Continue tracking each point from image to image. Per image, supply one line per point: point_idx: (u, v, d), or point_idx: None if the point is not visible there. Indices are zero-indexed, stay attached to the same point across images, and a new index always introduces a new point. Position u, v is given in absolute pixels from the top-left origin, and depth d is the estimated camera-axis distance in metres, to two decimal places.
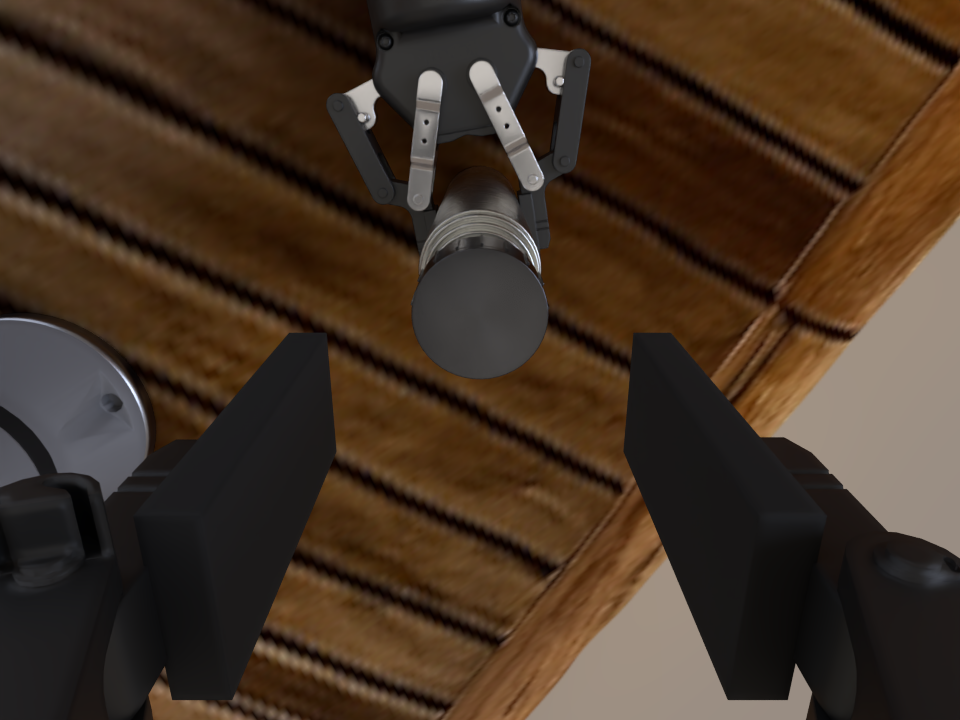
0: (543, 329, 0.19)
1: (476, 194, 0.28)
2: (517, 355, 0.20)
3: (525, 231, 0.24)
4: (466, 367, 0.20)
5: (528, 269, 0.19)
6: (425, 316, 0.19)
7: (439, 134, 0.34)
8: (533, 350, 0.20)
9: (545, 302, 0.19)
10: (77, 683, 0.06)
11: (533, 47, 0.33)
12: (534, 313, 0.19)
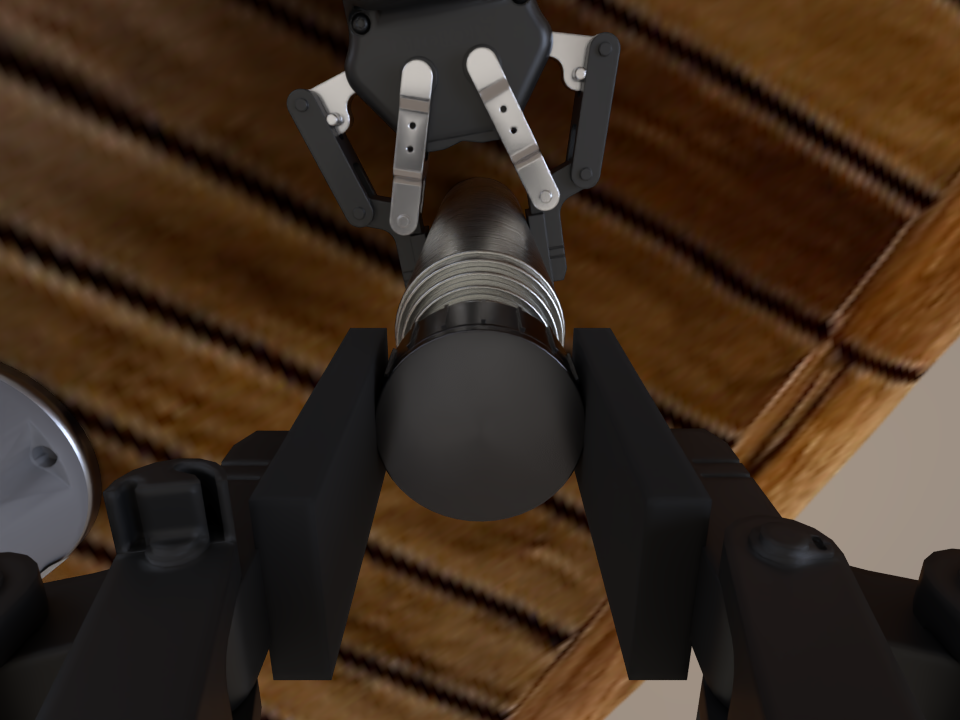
0: (578, 450, 0.12)
1: (475, 222, 0.21)
2: (537, 488, 0.13)
3: (543, 280, 0.17)
4: (459, 505, 0.13)
5: (556, 362, 0.12)
6: (395, 431, 0.12)
7: (429, 140, 0.28)
8: (562, 480, 0.13)
9: (582, 411, 0.12)
10: (206, 665, 0.06)
11: (547, 31, 0.26)
12: (565, 427, 0.12)
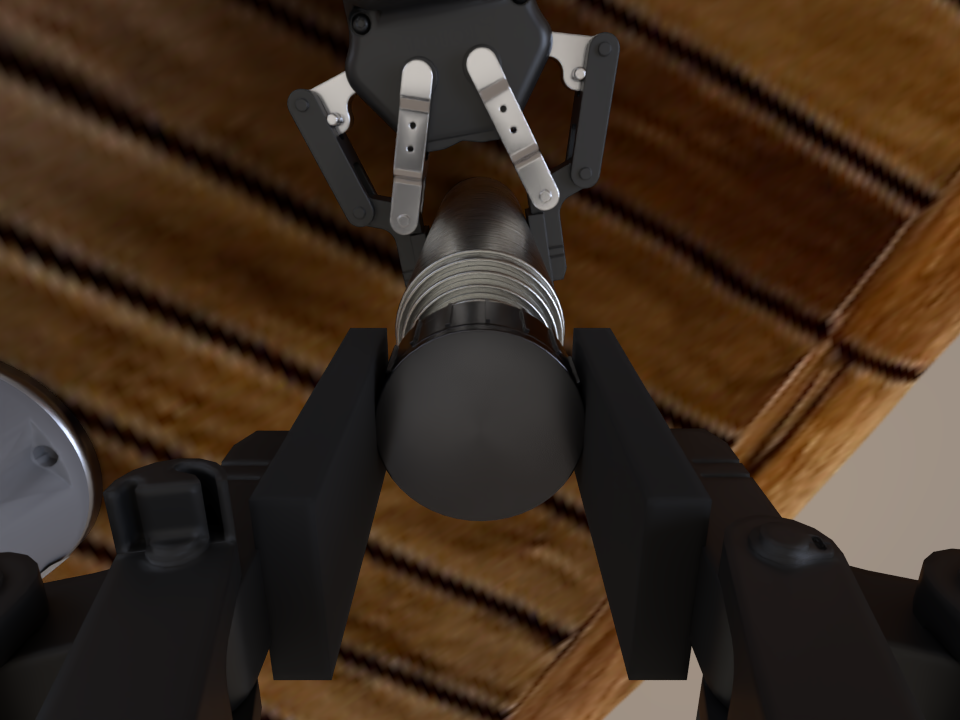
0: (516, 340, 0.12)
1: (475, 221, 0.21)
2: (554, 384, 0.12)
3: (543, 279, 0.17)
4: (560, 459, 0.13)
5: (413, 353, 0.12)
6: (470, 503, 0.13)
7: (429, 140, 0.28)
8: (550, 358, 0.12)
9: (471, 332, 0.12)
10: (207, 665, 0.06)
11: (547, 30, 0.26)
12: (487, 351, 0.12)
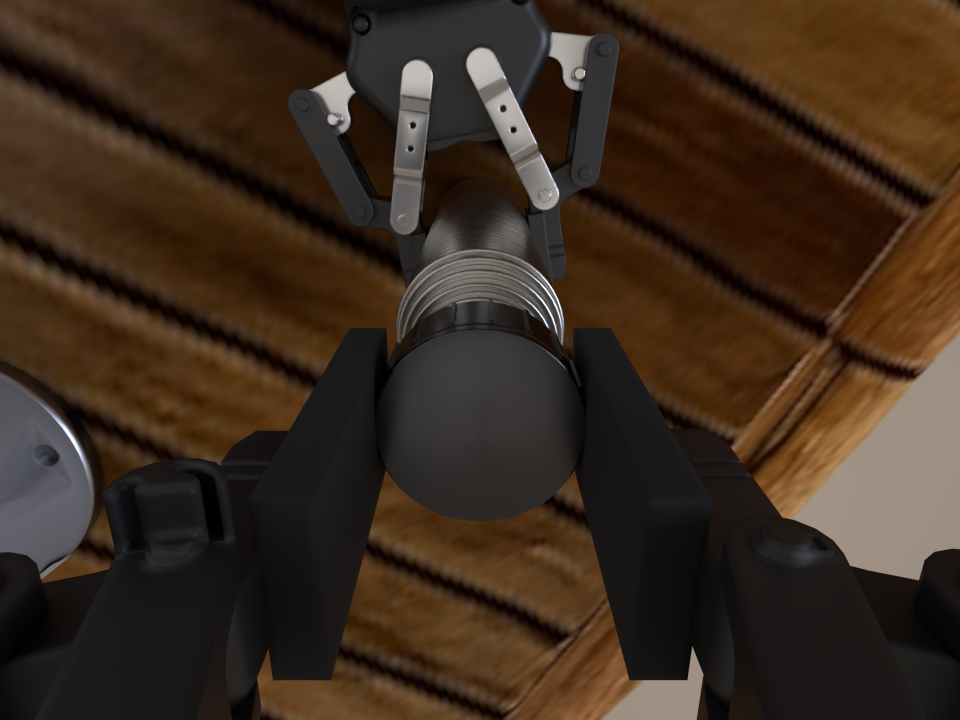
0: (387, 388, 0.12)
1: (475, 221, 0.21)
2: (437, 357, 0.12)
3: (543, 278, 0.17)
4: (525, 359, 0.12)
5: (392, 477, 0.13)
6: (561, 449, 0.13)
7: (429, 140, 0.28)
8: (410, 358, 0.12)
9: (376, 426, 0.12)
10: (206, 665, 0.06)
11: (547, 31, 0.26)
12: (396, 414, 0.12)
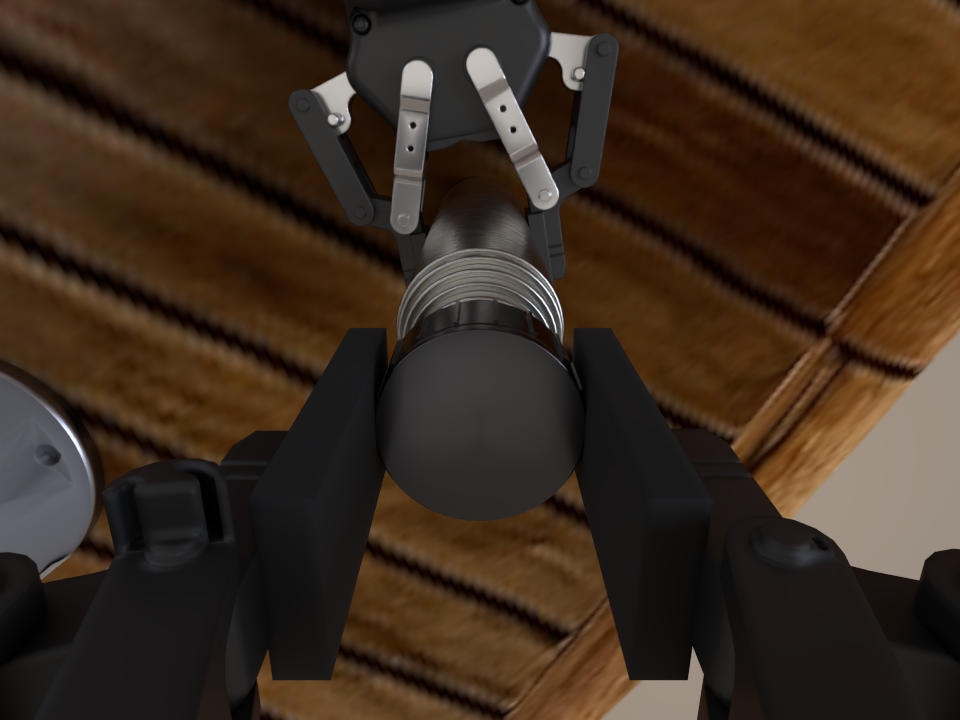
0: (424, 503, 0.13)
1: (475, 220, 0.21)
2: (398, 457, 0.13)
3: (543, 277, 0.17)
4: (407, 382, 0.12)
5: (518, 513, 0.13)
6: (513, 356, 0.12)
7: (429, 140, 0.28)
8: (397, 480, 0.13)
9: (462, 517, 0.13)
10: (206, 665, 0.06)
11: (546, 31, 0.26)
12: (453, 499, 0.13)
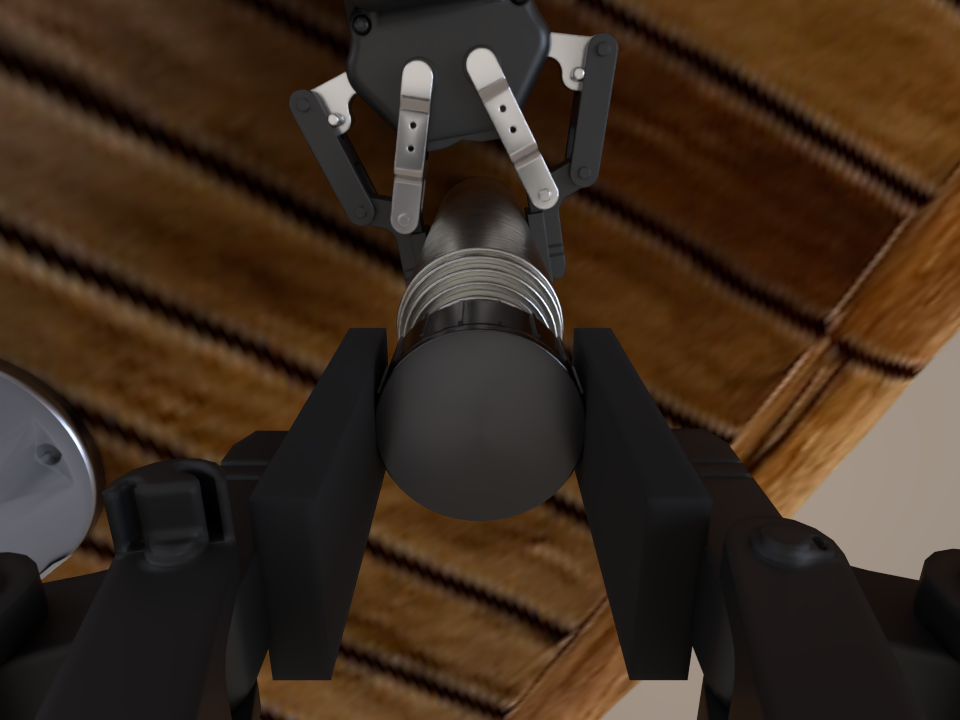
0: (553, 491, 0.13)
1: (475, 220, 0.21)
2: (498, 505, 0.13)
3: (542, 276, 0.17)
4: (420, 486, 0.13)
5: (582, 406, 0.12)
6: (404, 392, 0.12)
7: (429, 140, 0.28)
8: (523, 509, 0.13)
9: (577, 459, 0.13)
10: (205, 665, 0.06)
11: (546, 31, 0.26)
12: (554, 465, 0.13)
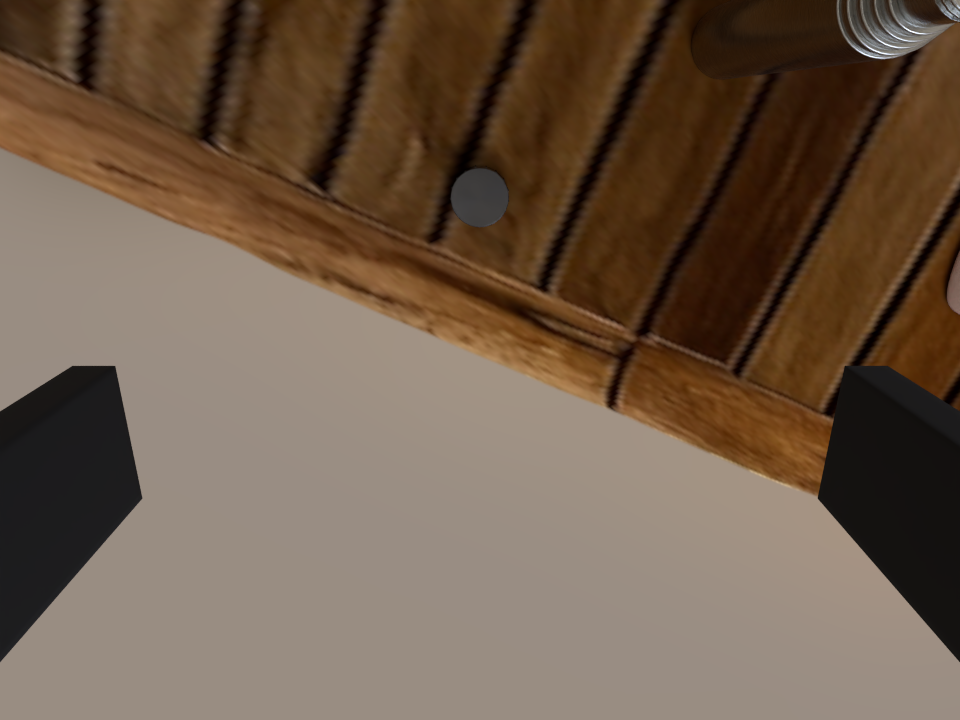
0: (500, 179, 0.45)
1: None
2: (503, 195, 0.46)
3: None
4: (494, 217, 0.46)
5: (475, 168, 0.45)
6: (465, 216, 0.46)
7: None
8: (506, 188, 0.46)
9: (491, 171, 0.45)
10: None
11: None
12: (492, 178, 0.45)
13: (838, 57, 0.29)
